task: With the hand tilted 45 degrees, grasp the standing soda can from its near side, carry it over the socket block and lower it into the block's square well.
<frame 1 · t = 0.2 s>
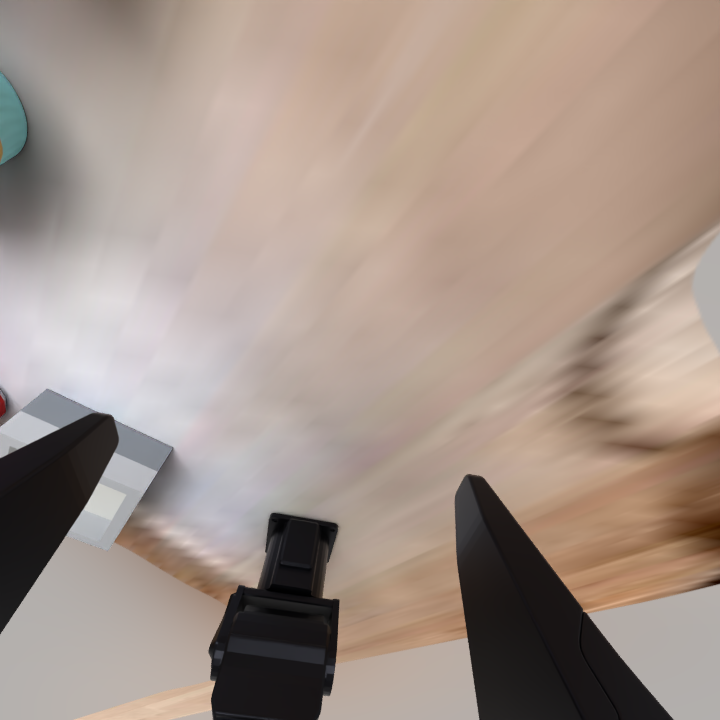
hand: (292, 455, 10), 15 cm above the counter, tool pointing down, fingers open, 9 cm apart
socket block: (97, 454, 32), on the counter
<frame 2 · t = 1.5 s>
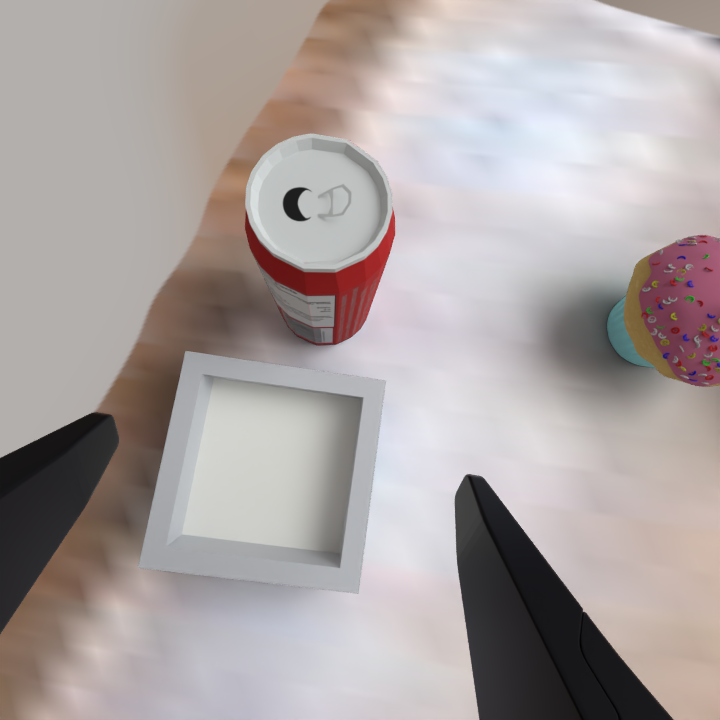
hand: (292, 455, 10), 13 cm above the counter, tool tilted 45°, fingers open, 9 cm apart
cupcake: (636, 329, 26), on the counter
soda can: (325, 305, 24), on the counter
socket block: (281, 458, 22), on the counter
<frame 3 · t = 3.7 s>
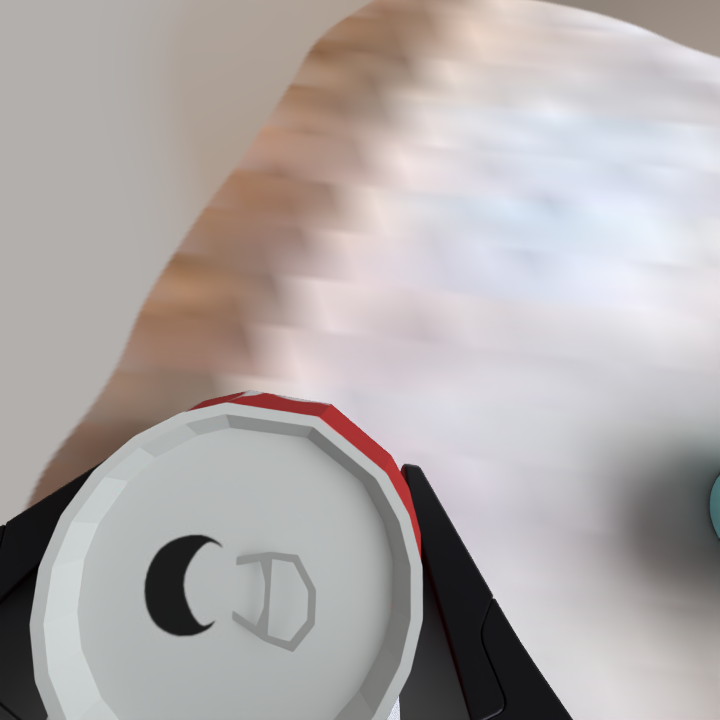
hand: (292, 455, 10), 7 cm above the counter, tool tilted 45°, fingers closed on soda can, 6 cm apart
soda can: (301, 475, 16), on the counter, touching gripper
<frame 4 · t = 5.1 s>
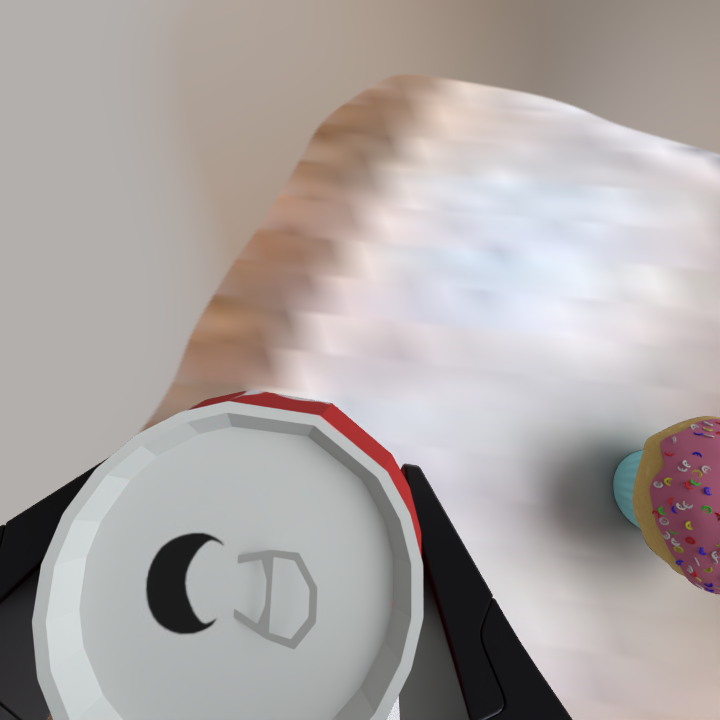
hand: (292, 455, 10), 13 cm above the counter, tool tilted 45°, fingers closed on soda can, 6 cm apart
cupcake: (644, 486, 24), on the counter
soda can: (302, 475, 17), point 6 cm above the counter, touching gripper
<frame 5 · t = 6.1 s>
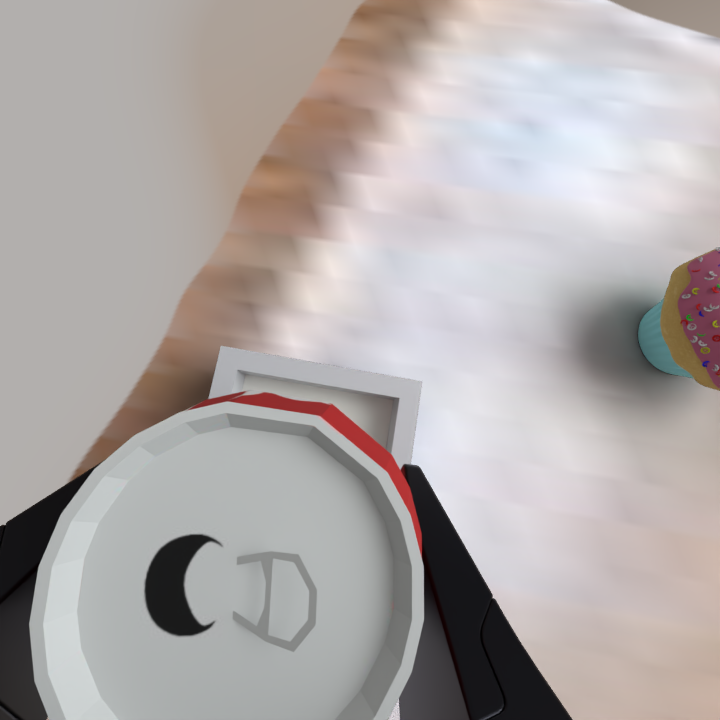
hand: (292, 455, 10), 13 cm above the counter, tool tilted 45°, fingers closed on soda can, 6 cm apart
cupcake: (666, 338, 25), on the counter
soda can: (302, 475, 16), point 6 cm above the counter, touching gripper
socket block: (308, 458, 22), on the counter
when the fingers open (11 cm above the counter, at t = 6.9 s): soda can drops 1 cm, resting on socket block.
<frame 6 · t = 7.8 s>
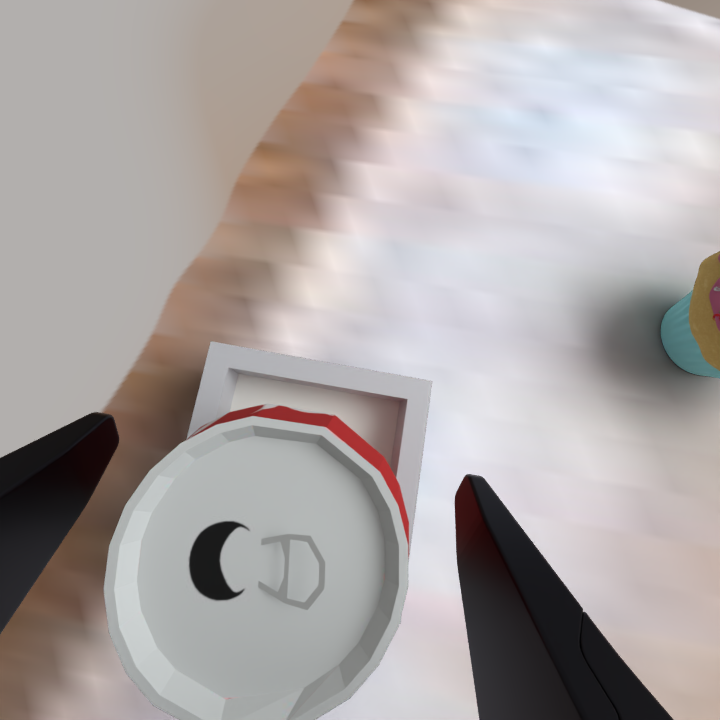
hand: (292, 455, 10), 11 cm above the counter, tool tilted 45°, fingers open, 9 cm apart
cupcake: (690, 336, 24), on the counter
soda can: (304, 475, 18), point 2 cm above the counter, touching socket block
socket block: (307, 465, 20), on the counter
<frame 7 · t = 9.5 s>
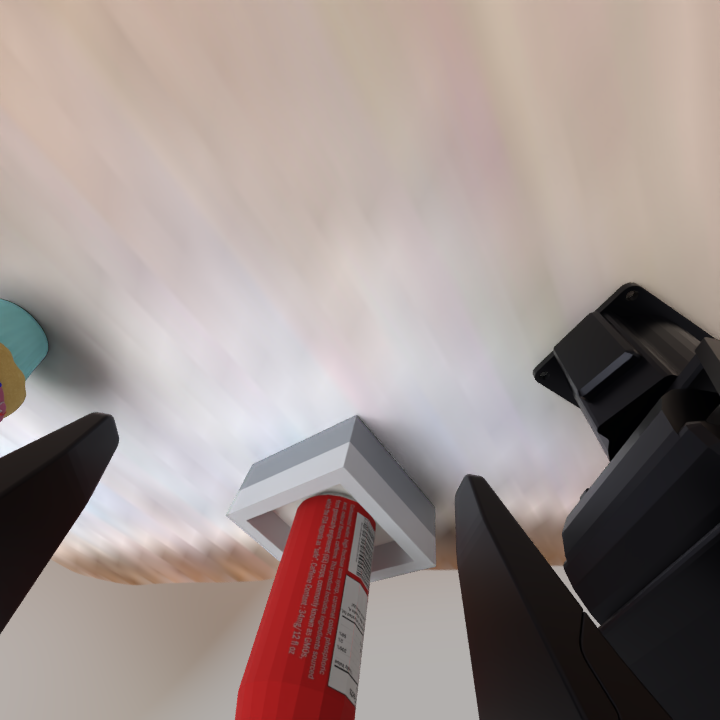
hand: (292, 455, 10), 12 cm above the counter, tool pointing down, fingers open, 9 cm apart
cupcake: (17, 331, 26), on the counter
soda can: (337, 513, 26), point 2 cm above the counter, touching socket block
socket block: (342, 485, 28), on the counter
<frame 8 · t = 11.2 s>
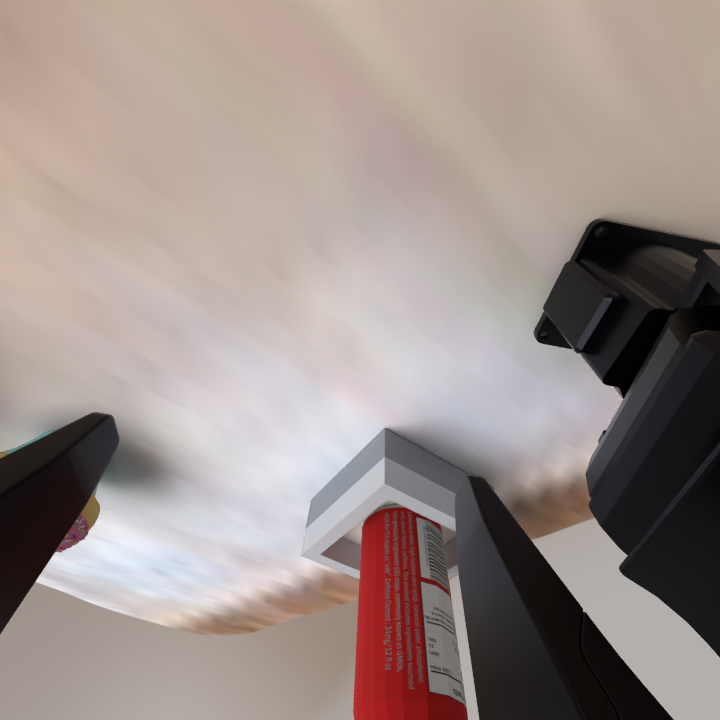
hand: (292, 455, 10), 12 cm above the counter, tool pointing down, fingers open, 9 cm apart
cupcake: (76, 451, 29), on the counter
soda can: (401, 521, 27), point 2 cm above the counter, touching socket block
socket block: (398, 494, 29), on the counter
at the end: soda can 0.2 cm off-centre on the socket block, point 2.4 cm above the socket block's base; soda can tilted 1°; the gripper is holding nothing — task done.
